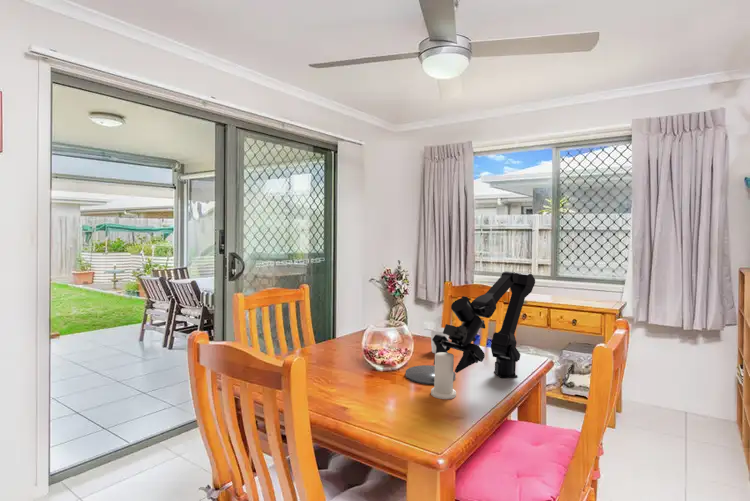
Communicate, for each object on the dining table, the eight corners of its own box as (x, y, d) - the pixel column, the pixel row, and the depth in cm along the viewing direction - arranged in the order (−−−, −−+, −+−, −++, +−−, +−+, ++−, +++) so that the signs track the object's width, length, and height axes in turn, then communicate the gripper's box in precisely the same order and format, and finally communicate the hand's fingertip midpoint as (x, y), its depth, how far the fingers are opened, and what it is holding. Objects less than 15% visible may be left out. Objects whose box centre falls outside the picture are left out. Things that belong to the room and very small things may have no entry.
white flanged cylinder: (450, 389, 149) (451, 351, 148) (459, 398, 141) (460, 357, 140) (427, 390, 147) (428, 351, 146) (435, 399, 139) (436, 359, 139)
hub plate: (445, 367, 172) (445, 364, 172) (463, 383, 155) (463, 379, 155) (400, 369, 169) (400, 366, 169) (413, 386, 151) (413, 382, 151)
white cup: (449, 354, 190) (450, 331, 189) (431, 354, 190) (431, 331, 190) (447, 349, 198) (447, 327, 197) (429, 349, 198) (429, 327, 197)
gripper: (436, 311, 154) (412, 347, 147) (480, 320, 139) (455, 360, 133) (451, 330, 159) (428, 366, 152) (495, 341, 144) (471, 381, 138)
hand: (444, 368), depth 144 cm, fingers open, 9 cm apart
